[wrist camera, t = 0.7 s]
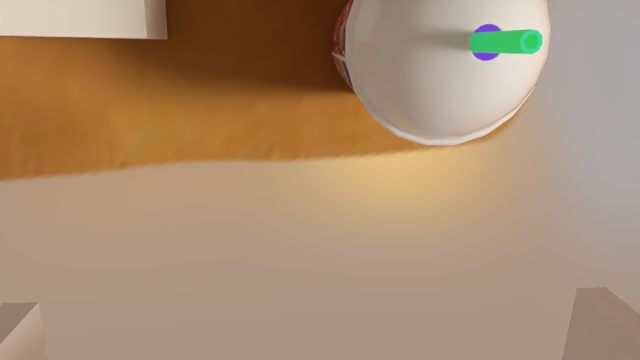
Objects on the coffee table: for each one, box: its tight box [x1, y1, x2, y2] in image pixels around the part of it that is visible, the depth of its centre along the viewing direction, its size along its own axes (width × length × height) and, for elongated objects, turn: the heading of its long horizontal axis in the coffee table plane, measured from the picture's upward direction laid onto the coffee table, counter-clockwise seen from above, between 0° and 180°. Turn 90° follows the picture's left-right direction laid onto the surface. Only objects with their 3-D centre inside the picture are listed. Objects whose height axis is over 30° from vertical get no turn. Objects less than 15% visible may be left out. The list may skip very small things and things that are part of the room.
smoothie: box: [331, 0, 552, 146], centre depth 22 cm, size 8×8×20 cm
